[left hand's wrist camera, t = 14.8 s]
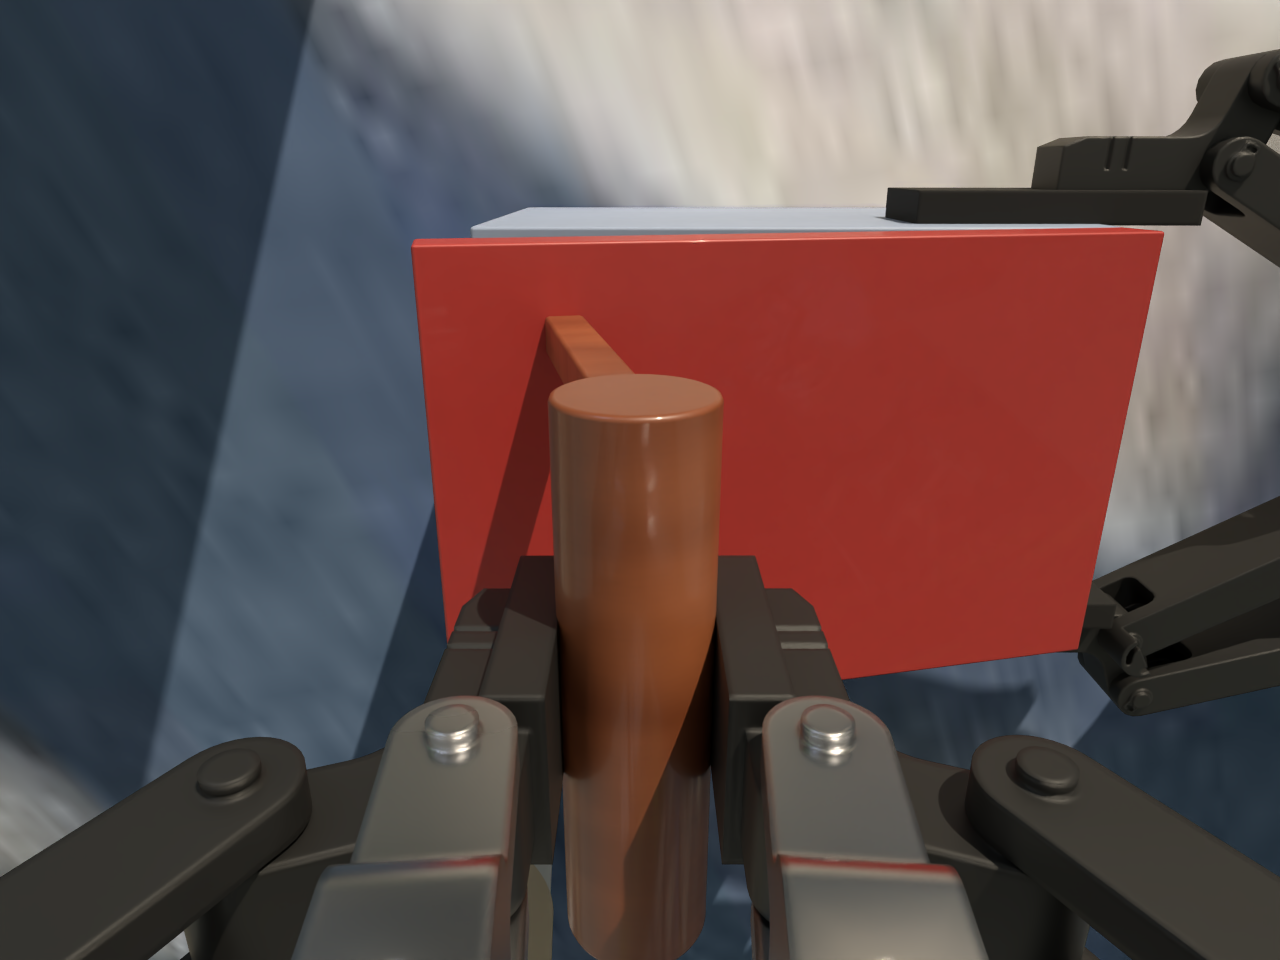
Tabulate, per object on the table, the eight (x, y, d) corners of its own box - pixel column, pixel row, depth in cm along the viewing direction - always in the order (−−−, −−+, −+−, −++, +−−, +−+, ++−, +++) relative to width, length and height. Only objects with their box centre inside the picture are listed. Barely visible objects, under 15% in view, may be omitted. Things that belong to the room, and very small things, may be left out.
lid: (454, 695, 19) (460, 1070, 11) (413, 238, 15) (380, 313, 8) (1044, 624, 22) (1380, 880, 14) (1120, 226, 18) (1619, 272, 11)
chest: (539, 492, 31) (496, 620, 22) (526, 207, 27) (469, 226, 19) (935, 493, 30) (1049, 623, 22) (973, 207, 27) (1125, 226, 18)
